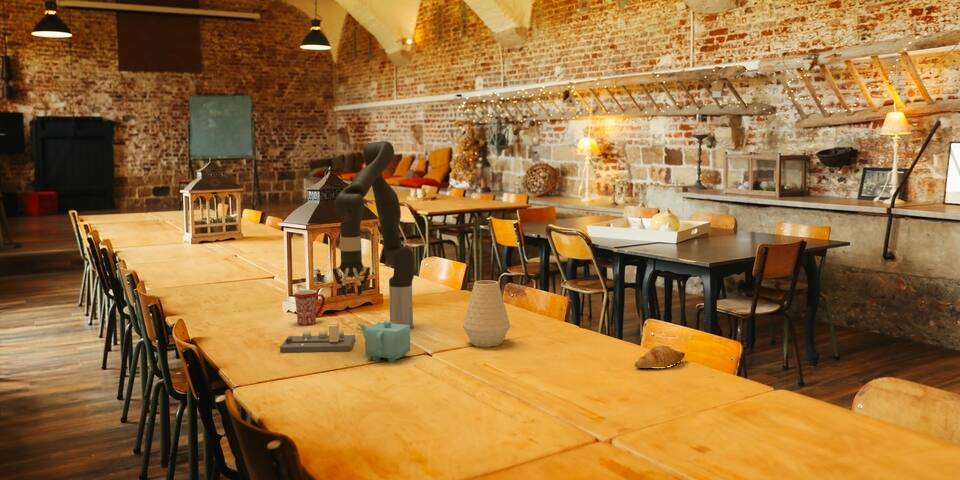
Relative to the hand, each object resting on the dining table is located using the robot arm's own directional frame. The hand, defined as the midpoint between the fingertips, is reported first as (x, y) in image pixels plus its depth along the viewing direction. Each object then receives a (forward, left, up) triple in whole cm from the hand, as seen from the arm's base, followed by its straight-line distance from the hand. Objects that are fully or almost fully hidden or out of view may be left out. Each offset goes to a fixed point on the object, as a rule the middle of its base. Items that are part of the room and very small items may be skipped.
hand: (352, 295), depth 292 cm
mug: (+22, -39, -19) cm, 49 cm away
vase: (-49, -1, -19) cm, 53 cm away
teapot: (-11, +15, -20) cm, 27 cm away
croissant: (-105, +31, -20) cm, 111 cm away
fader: (+7, 0, -17) cm, 18 cm away
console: (+13, -2, -19) cm, 23 cm away
